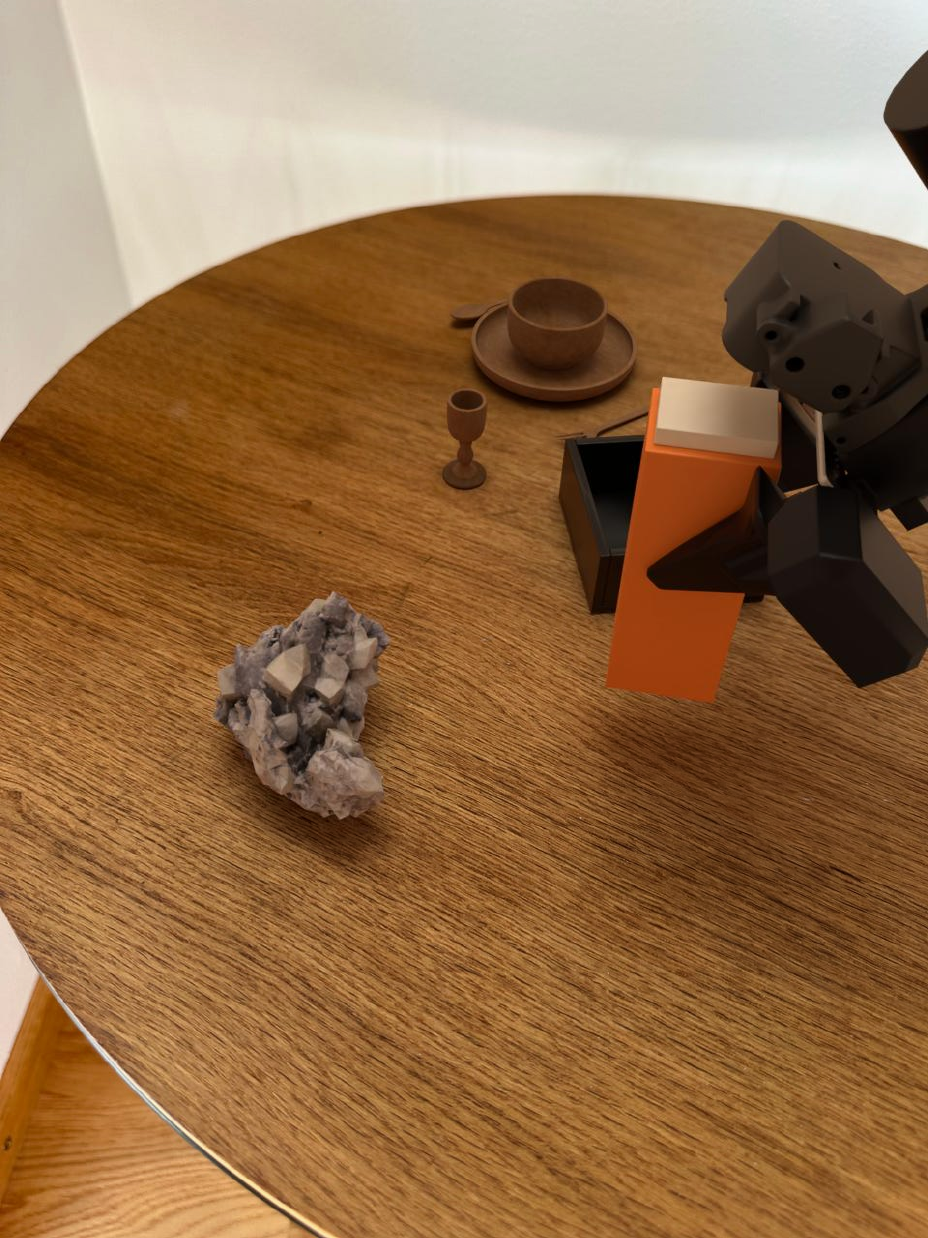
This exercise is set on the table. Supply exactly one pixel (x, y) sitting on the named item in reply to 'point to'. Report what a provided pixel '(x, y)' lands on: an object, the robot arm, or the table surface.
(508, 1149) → the table surface
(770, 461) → the block
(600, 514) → the open black square box
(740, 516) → the robot arm
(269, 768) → the mineral specimen
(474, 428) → the place setting
